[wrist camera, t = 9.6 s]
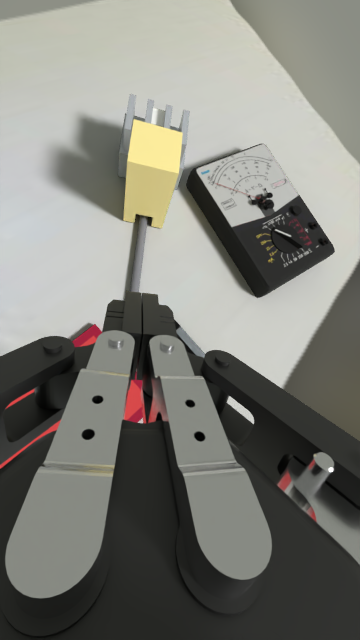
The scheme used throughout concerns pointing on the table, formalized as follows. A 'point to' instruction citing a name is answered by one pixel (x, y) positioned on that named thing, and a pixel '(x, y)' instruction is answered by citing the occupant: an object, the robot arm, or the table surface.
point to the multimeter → (259, 218)
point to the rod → (139, 254)
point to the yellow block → (151, 171)
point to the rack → (154, 118)
